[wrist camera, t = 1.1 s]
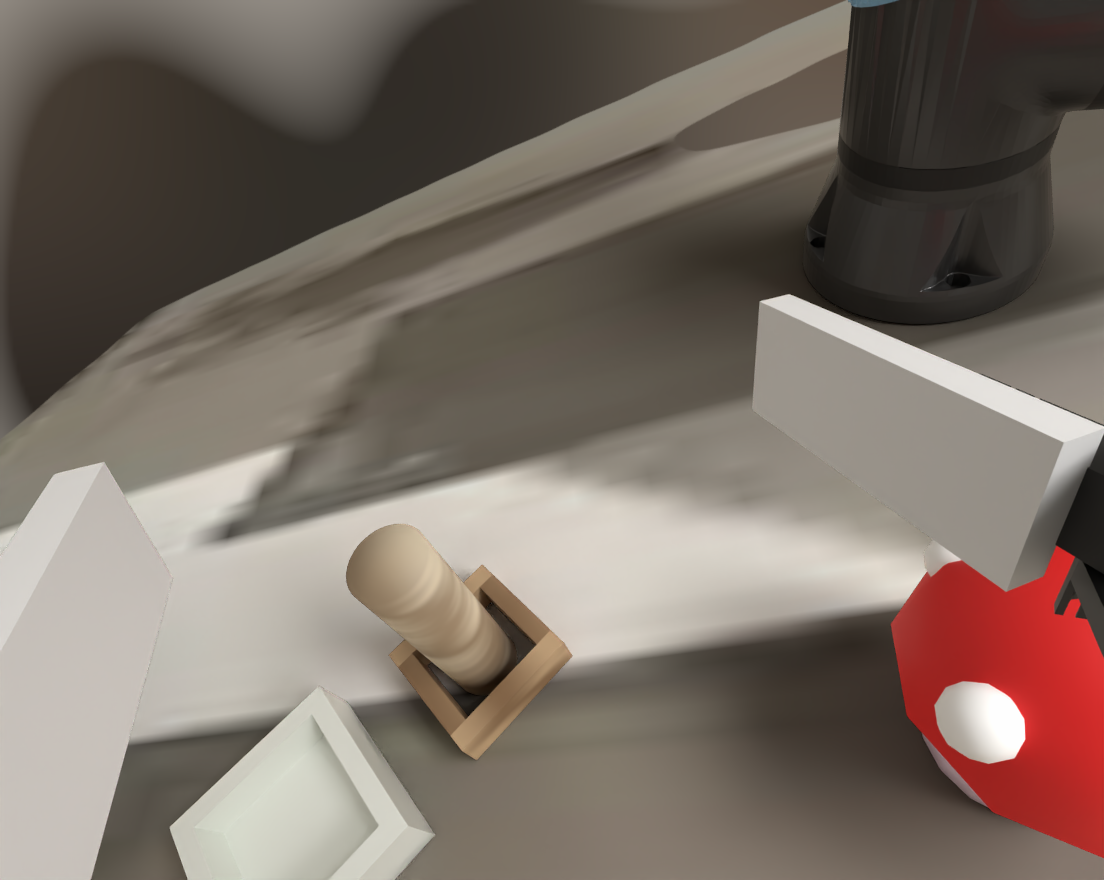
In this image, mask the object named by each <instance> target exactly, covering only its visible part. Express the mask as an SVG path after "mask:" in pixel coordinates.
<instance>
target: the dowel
mask: <svg viewBox="0 0 1104 880" xmlns="http://www.w3.org/2000/svg"><path fill="white" fill-rule="evenodd" d="M346 581H347V586H348V588H349V590H350V592H351V594H352V595H353V596H354V597H355V598H356V599H358V600H359V601H360V602H361V603H362V604H364V605H365V606H366V607H367V608H368V609H369V610H371V611H372V612H373V613H374V614H375V615H377V616H378V617H379V618H380V619H381V620H383V621H384V622H385V623H386V624H387V625H389V626H390V627H391V628H392V629H393V630H394V631H396V632H397V633H398V634H399V635H400V636H402V637H403V638H404V639H405V640H406V641H408V642H409V643H410V644H411V645H412V646H413V647H415V648H416V649H417V650H418V651H419V652H421V653H422V654H423V655H424V656H425V657H427V658H428V659H429V660H430V661H431V662H433V663H434V664H435V665H436V666H437V667H438V668H440V669H441V670H442V671H443V672H444V673H446V674H447V675H448V676H449V677H450V678H452V679H453V680H454V681H455V682H456V683H457V684H459V685H460V686H461V687H462V688H463V689H465V690H466V691H467V692H469V693H471V694H474V695H482V696H483V695H489V694H490V693H491V692H492V691H493V690H494V689H495V688H496V687H497V686H498V685H499V684H500V683H501V682H502V681H503V680H504V679H505V678H506V677H507V675H508V674H509V673H510V672H511V671H512V670H513V669H514V668H515V667H516V663H517V653H516V648H515V646H514V644H513V642H512V640H511V639H510V638H509V637H508V636H507V634H506V633H505V632H504V631H503V630H502V628H501V627H500V626H499V625H498V624H497V622H496V621H495V620H494V619H493V618H492V616H491V615H490V614H489V613H488V612H487V611H486V609H485V608H484V607H483V606H482V605H481V603H480V602H479V601H478V600H477V599H476V597H475V596H474V595H473V594H472V593H471V591H470V590H469V589H468V588H467V587H466V586H465V584H464V583H463V582H462V581H461V580H460V578H459V577H458V576H457V575H456V574H455V572H454V571H453V570H452V569H451V568H450V566H449V565H448V564H447V563H446V562H445V560H444V559H443V558H442V557H441V556H440V555H439V553H438V552H437V551H436V550H435V549H434V547H433V546H432V545H431V544H430V543H429V541H428V540H427V539H426V538H425V537H424V535H423V534H422V533H421V532H420V531H419V530H418V529H416V528H415V527H413V526H410V525H406V524H393V525H388V526H385V527H383V528H380V529H378V530H376V531H375V532H373V533H372V534H370V535H369V536H368V537H366V538H365V539H364V540H363V541H362V542H361V543H360V544H359V545H358V547H357V548H356V549H355V551H354V553H353V554H352V556H351V558H350V560H349V563H348V566H347V571H346Z"/></svg>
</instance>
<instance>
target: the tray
mask: <svg viewBox="0 0 1104 880" xmlns="http://www.w3.org/2000/svg"><path fill="white" fill-rule="evenodd" d="M169 828H170V831H171V834H172V836H173V839H174V842H175V845H176V848H177V850H178V853H179V856H180V859H181V862H182V865H183V867H184V870H185V873H186V876H187V879H188V880H395V879H396V878H397V876H398V875H399V874H400V873H401V872H402V871H403V870H404V869H405V868H406V867H407V865H408V864H409V863H410V862H411V861H412V860H413V859H414V858H415V857H416V855H417V854H418V853H419V852H420V851H421V850H422V849H423V848H424V847H425V845H426V844H427V843H428V842H429V841H430V840H431V839H432V838H433V837H434V836H435V834H434V832H433V831H432V829H431V828H430V826H429V825H428V823H427V822H426V820H425V819H424V817H423V815H422V814H421V812H420V811H419V809H418V808H417V806H416V805H415V803H414V802H413V800H412V799H411V797H410V796H409V794H408V793H407V791H406V790H405V788H404V787H403V785H402V784H401V782H400V781H399V779H398V778H397V776H396V775H395V773H394V772H393V770H392V769H391V767H390V766H389V764H388V763H387V761H386V759H385V758H384V756H383V755H382V753H381V752H380V750H379V749H378V747H377V746H376V744H375V743H374V741H373V740H372V738H371V737H370V735H369V734H368V732H367V731H366V729H365V728H364V726H363V725H362V723H361V722H360V720H359V719H358V717H357V716H356V714H355V713H354V711H353V710H352V708H351V707H350V705H349V703H348V702H346V701H345V700H343V699H341V698H339V697H338V696H336V695H334V694H332V693H331V692H329V691H327V690H325V689H324V688H322V687H320V686H318V687H317V688H316V689H315V690H314V691H313V692H312V693H311V694H310V695H309V696H308V697H307V698H306V699H304V700H303V701H302V702H301V703H300V704H299V705H298V706H297V707H296V708H295V709H294V710H293V711H292V712H291V713H290V714H289V715H288V716H287V717H285V718H284V719H283V720H282V721H281V722H280V723H279V724H278V725H277V726H276V727H275V728H274V729H273V730H272V731H271V732H270V733H269V734H267V735H266V736H265V737H264V738H263V739H262V740H261V741H260V742H259V743H258V744H257V745H256V746H255V747H254V748H253V749H252V750H251V751H250V752H248V753H247V754H246V755H245V756H244V757H243V758H242V759H241V760H240V761H239V762H238V763H237V764H236V765H235V766H234V767H233V768H232V769H231V770H229V771H228V772H227V773H226V774H225V775H224V776H223V777H222V778H221V779H220V780H219V781H218V782H217V783H216V784H215V785H214V786H213V787H211V788H210V789H209V790H208V791H207V792H206V793H205V794H204V795H203V796H202V797H201V798H200V799H199V800H198V801H197V802H196V803H195V804H194V805H192V806H191V807H190V808H189V809H188V810H187V811H186V812H185V813H184V814H183V815H182V816H181V817H180V818H179V819H178V820H177V821H176V822H174V823H173V824H172V825H171V826H170V827H169Z"/></svg>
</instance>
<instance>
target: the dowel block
mask: <svg viewBox="0 0 1104 880" xmlns="http://www.w3.org/2000/svg"><path fill="white" fill-rule="evenodd" d="M464 584H465V586H466V587H467V588H468V589H469V590H470V591H471V593H472V594H473V595H474V596H475V597H476V599H477V600H478V601H479V602H480V603H481V605H482V606H483V607H484V608H486V607H487V606H488V605H489V604H490V603H491V602H492V603H493V604H494V605H495V606H496V607H497V608H498V609H499V610H500V611H501V612H502V613H503V614H504V615H505V616H506V617H507V618H508V619H509V620H510V621H511V622H512V623H513V624H514V625H515V626H516V627H517V628H518V629H519V630H520V631H521V632H522V633H523V634H524V635H525V636H526V637H527V638H528V639H529V640H530V641H531V642H532V643H533V644H534V645H535V647H534V648H533V649H532V650H531V651H530V652H529V653H528V654H527V655H526V656H525V658H524V659H523V660H522V661H521V662H520V663H519V664H518V665H517V666H516V667H515V668H514V669H513V670H512V671H511V672H510V673H509V674H508V675H507V677H506V678H505V679H504V680H503V681H502V682H501V683H500V684H499V685H498V686H497V687H496V688H495V689H494V690H493V691H492V692H491V693H490V694H489V696H488V697H487V698H486V699H485V700H484V701H483V702H482V703H481V704H480V705H479V706H478V707H477V708H476V709H475V710H474V711H473V712H472V713H471V715H470V716H469V717H468V715H467V714H466V713H465V712H464V710H463V709H462V708H461V707H460V705H459V704H458V703H457V702H456V701H455V699H454V698H453V697H452V696H451V694H450V693H449V692H448V691H447V689H446V688H445V687H444V686H443V685H442V683H441V682H440V681H439V680H438V678H437V677H436V676H435V675H434V673H433V672H432V671H431V670H430V668H429V667H428V666H427V665H428V664H429V663H430V662H431V661H430V660H429V659H428V658H427V657H425V656H424V655H423V654H422V653H421V652H419V651H418V650H417V649H416V648H415V647H413V646H412V645H411V644H410V643H409V642H408V641H406V640H404V641H403V642H402V643H401V644H400V645H398V646H397V647H396V648H395V649H394V650H393V651H392V652H391V653H390V654H389V656H390V658H391V659H392V660H393V662H394V663H395V664H396V665H397V667H398V668H399V669H400V671H401V672H402V673H403V675H404V676H405V677H406V679H407V680H408V681H409V682H410V684H411V685H412V686H413V688H414V689H415V690H416V692H417V693H418V694H419V695H420V697H421V698H422V699H423V701H424V702H425V703H426V705H427V706H428V707H429V709H430V710H431V711H432V712H433V714H434V715H435V716H436V718H437V719H438V720H439V722H440V723H441V724H442V725H443V727H444V728H445V729H446V731H447V732H448V733H449V735H450V736H451V737H452V739H453V740H454V741H455V742H456V744H457V745H458V746H459V748H460V749H461V750H462V751H463V752H464V753H466V754H468V755H469V756H471V757H472V758H474V759H476V760H477V759H478V758H479V757H480V756H481V755H482V754H483V753H484V752H485V751H486V750H487V748H488V747H489V746H490V745H491V744H492V743H493V742H494V741H495V740H496V739H497V738H498V737H499V735H500V734H501V733H502V732H503V731H504V730H505V729H506V728H507V727H508V726H509V725H510V723H511V722H512V721H513V720H514V719H515V718H516V717H517V716H518V715H519V714H520V713H521V711H522V710H523V709H524V708H525V707H526V706H527V705H528V704H529V703H530V702H531V701H532V700H533V698H534V697H535V696H536V695H537V694H538V693H539V692H540V691H541V690H542V689H543V688H544V686H545V685H546V684H547V683H548V682H549V681H550V680H551V679H552V678H553V677H554V676H555V674H556V673H557V672H558V671H559V670H560V669H561V668H562V667H563V666H564V665H565V664H566V662H567V661H568V660H569V659H570V658H571V657H572V654H571V653H570V651H569V650H568V648H567V647H566V645H565V644H564V642H563V641H561V640H560V639H559V638H558V637H557V636H556V635H555V634H554V633H553V632H552V631H551V630H550V629H549V628H548V627H547V626H546V625H545V624H544V623H543V622H542V621H541V620H540V619H539V618H537V617H536V616H535V615H534V614H533V613H532V612H531V611H530V610H529V609H528V608H527V607H526V606H525V605H524V604H523V603H522V602H521V601H520V600H519V599H518V598H517V597H516V596H515V595H513V594H512V593H511V592H510V591H509V590H508V589H507V588H506V587H505V586H504V585H503V584H502V583H501V582H500V581H499V580H498V579H497V578H496V577H495V576H494V575H493V574H492V573H491V572H489V571H488V570H487V569H486V568H485V567H484V566H483V565H481V566H480V567H479V568H478V569H477V570H476V571H475V572H474V573H473V574H472V575H471V576H470V577H469V578H468V579H467V580H466V581H465V582H464Z"/></svg>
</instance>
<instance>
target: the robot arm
mask: <svg viewBox="0 0 1104 880" xmlns="http://www.w3.org/2000/svg"><path fill="white" fill-rule="evenodd" d="M848 2H850V3H851V5H852V9H851V20H850V31H849V42H848V52H847V62H846V71H845V81H844V90H843V91H844V92H843V100H842V110H841V119H840V131H839V141H838V151H837V157H836V160H835V162H834V165H833V167H832V169H831V171H830V174H829V176H828V178H827V180H826V183H825V185H824V187H823V189H822V191H821V194H820V196H819V198H818V200H817V203H816V205H815V207H814V209H813V212H812V214H811V216H810V218H809V221H808V223H807V226H806V230H805V235H804V248H803V267H804V271H805V274H806V276H807V278H808V280H809V281H810V283H811V284H812V286H813V287H814V288H815V289H816V290H817V291H818V292H819V293H820V294H821V295H822V296H823V297H825V298H826V299H828V300H829V301H830V302H832V303H834V304H835V305H837V306H839V307H841V308H843V309H846V310H848V311H850V312H853V313H856V314H858V315H862V316H865V317H869V318H873V319H877V320H882V321H889V322H897V323H909V324H930V323H942V322H951V321H957V320H962V319H967V318H971V317H975V316H978V315H981V314H984V313H987V312H990V311H992V310H995V309H997V308H999V307H1002V306H1004V305H1005V304H1007V303H1009V302H1011V301H1012V300H1014V299H1016V298H1017V297H1018V296H1020V295H1021V294H1022V293H1024V292H1025V291H1026V290H1027V289H1028V288H1029V287H1030V286H1031V285H1032V284H1033V282H1034V281H1035V279H1036V278H1037V276H1038V275H1039V273H1040V270H1041V268H1042V265H1043V263H1044V260H1045V258H1046V255H1047V253H1048V251H1049V248H1050V246H1051V242H1052V237H1053V230H1054V225H1053V204H1052V184H1051V163H1050V153H1051V150H1052V147H1053V144H1054V141H1055V138H1056V135H1057V132H1058V130H1059V127H1060V124H1061V121H1062V119H1063V117H1064V115H1065V113H1066V112H1070V111H1078V110H1079V111H1080V110H1092V109H1104V0H848ZM752 410H753V411H754V412H755V413H757V414H758V415H760V416H761V417H762V418H764V419H765V420H767V421H768V422H769V423H771V424H772V425H774V426H775V427H776V428H778V429H779V430H781V431H782V432H783V433H785V434H786V435H788V436H789V437H790V438H792V439H793V440H795V441H796V442H797V443H799V444H800V445H802V446H803V447H804V448H806V449H807V450H809V451H810V452H811V453H813V454H814V455H816V456H817V457H818V458H820V459H821V460H823V461H824V462H825V463H827V464H828V465H830V466H831V467H832V468H834V469H835V470H837V471H838V472H839V473H841V474H842V475H844V476H845V477H846V478H848V479H849V480H851V481H852V482H853V483H855V484H856V485H858V486H859V487H860V488H862V489H863V490H864V491H866V492H867V493H869V494H870V495H871V496H873V497H874V498H876V499H877V500H878V501H880V502H881V503H883V504H884V505H885V506H887V507H888V508H890V509H891V510H892V511H894V512H895V513H897V514H898V515H899V516H901V517H902V518H904V519H905V520H906V521H908V522H909V523H911V524H912V525H913V526H915V527H916V528H918V529H919V530H920V531H922V532H923V533H925V534H926V535H927V536H929V537H930V538H932V539H933V540H934V541H936V542H937V543H939V544H940V545H941V546H943V547H944V548H946V549H947V550H948V551H950V552H951V553H953V554H954V555H955V556H957V557H958V558H960V559H961V560H962V561H964V562H965V563H966V564H968V565H969V566H971V567H972V568H973V569H975V570H976V571H978V572H979V573H980V574H982V575H983V576H985V577H986V578H987V579H989V580H990V581H992V582H993V583H994V584H996V585H997V586H999V587H1000V588H1001V589H1003V590H1004V591H1006V592H1007V591H1009V590H1012V589H1014V588H1017V587H1019V586H1022V585H1024V584H1026V583H1029V582H1031V581H1034V580H1036V579H1039V578H1041V577H1043V576H1044V574H1045V572H1046V569H1047V567H1048V564H1049V562H1050V560H1051V557H1052V555H1053V553H1054V550H1055V548H1056V546H1058V547H1060V548H1061V549H1063V550H1065V551H1066V552H1068V553H1070V554H1071V555H1073V556H1075V558H1074V561H1073V563H1072V565H1071V567H1070V569H1069V572H1068V574H1067V576H1066V578H1065V581H1064V583H1063V585H1062V587H1061V589H1060V592H1059V594H1058V596H1057V598H1056V601H1055V603H1054V614H1057V615H1064V612H1065V610H1066V608H1067V606H1068V604H1069V602H1070V600H1072V599H1079V601H1080V603H1081V605H1080V607H1079V609H1078V611H1077V613H1076V615H1075V617H1076V618H1081V619H1087V620H1088V622H1089V625H1090V627H1091V629H1092V632H1093V634H1094V636H1095V639H1096V641H1097V644H1098V646H1099V648H1100V651H1101V653H1102V655H1103V658H1104V425H1102V424H1100V423H1097V422H1095V421H1093V420H1090V419H1088V418H1086V417H1083V416H1081V415H1078V414H1076V413H1074V412H1071V411H1069V410H1066V409H1064V408H1062V407H1059V406H1057V405H1054V404H1052V403H1050V402H1047V401H1045V400H1043V399H1037V398H1035V397H1034V396H1033V395H1031V394H1028V393H1026V392H1023V391H1021V390H1019V389H1013V388H1011V386H1009V385H1007V384H1004V383H1002V382H1000V381H997V380H995V379H992V378H990V377H988V376H985V375H983V374H979V373H975V372H973V371H971V370H968V369H966V368H964V367H961V366H959V365H956V364H954V363H952V362H949V361H947V360H945V359H942V358H940V357H937V356H935V355H933V354H930V353H928V352H925V351H923V350H921V349H918V348H916V347H914V346H911V345H909V344H906V343H904V342H902V341H899V340H897V339H895V338H892V337H890V336H887V335H885V334H883V333H880V332H878V331H876V330H873V329H871V328H868V327H866V326H864V325H861V324H859V323H857V322H854V321H852V320H849V319H847V318H845V317H842V316H840V315H838V314H835V313H833V312H830V311H828V310H826V309H823V308H821V307H819V306H816V305H814V304H811V303H809V302H807V301H804V300H802V299H799V298H797V297H795V296H792V295H790V294H788V295H784V296H780V297H775V298H771V299H767V300H763V301H760V304H759V318H758V332H757V347H756V361H755V375H754V390H753V404H752ZM172 581H173V577H172V575H171V574H170V572H169V570H168V569H167V567H166V565H165V564H164V562H163V560H162V559H161V557H160V555H159V553H158V552H157V550H156V548H155V547H154V545H153V543H152V542H151V540H150V538H149V537H148V535H147V533H146V532H145V530H144V528H143V527H142V525H141V523H140V522H139V520H138V518H137V516H136V515H135V513H134V511H133V510H132V508H131V506H130V505H129V503H128V501H127V500H126V498H125V496H124V495H123V493H122V491H121V490H120V488H119V486H118V484H117V483H116V481H115V479H114V478H113V476H112V474H111V473H110V471H109V469H108V468H107V466H106V464H105V463H104V462H102V463H98V464H93V465H89V466H85V467H81V468H77V469H73V470H69V471H65V472H61V473H57V474H54V475H53V477H52V478H51V480H50V481H49V483H48V484H47V486H46V487H45V489H44V490H43V492H42V494H41V495H40V497H39V498H38V500H37V501H36V503H35V504H34V506H33V507H32V509H31V510H30V512H29V513H28V515H27V516H26V518H25V519H24V521H23V522H22V524H21V525H20V527H19V529H18V530H17V532H16V533H15V535H14V536H13V538H12V539H11V541H10V542H9V544H8V545H7V547H6V548H5V550H4V551H3V553H2V554H1V556H0V880H91V877H92V873H93V870H94V866H95V862H96V859H97V855H98V851H99V848H100V844H101V840H102V837H103V833H104V829H105V826H106V822H107V818H108V815H109V811H110V807H111V804H112V800H113V796H114V793H115V789H116V785H117V782H118V778H119V774H120V771H121V767H122V763H123V760H124V756H125V753H126V749H127V745H128V742H129V738H130V734H131V731H132V727H133V723H134V720H135V716H136V712H137V709H138V705H139V701H140V698H141V694H142V690H143V687H144V683H145V679H146V676H147V672H148V668H149V665H150V661H151V657H152V654H153V650H154V646H155V643H156V639H157V635H158V632H159V628H160V624H161V621H162V617H163V613H164V610H165V606H166V602H167V599H168V595H169V591H170V588H171V584H172Z"/></svg>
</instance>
